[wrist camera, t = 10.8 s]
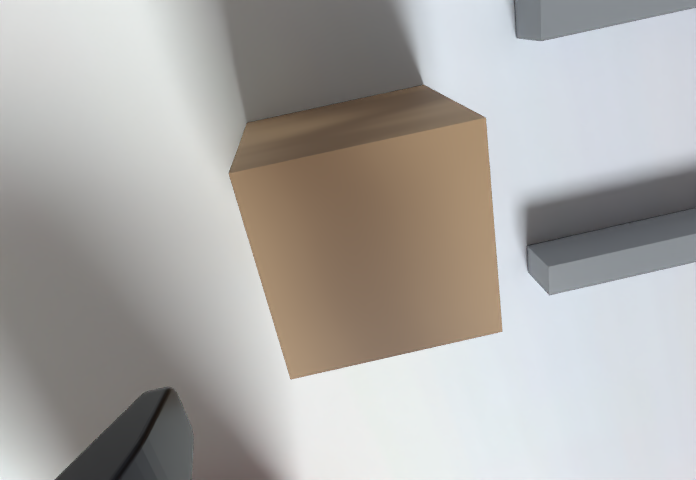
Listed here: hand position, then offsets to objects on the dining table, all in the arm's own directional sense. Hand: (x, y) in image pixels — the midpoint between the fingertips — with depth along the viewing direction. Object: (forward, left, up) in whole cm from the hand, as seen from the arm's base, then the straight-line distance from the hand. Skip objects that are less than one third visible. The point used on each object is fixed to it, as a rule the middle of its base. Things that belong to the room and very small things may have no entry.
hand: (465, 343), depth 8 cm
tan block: (+1, 0, -8) cm, 8 cm away
